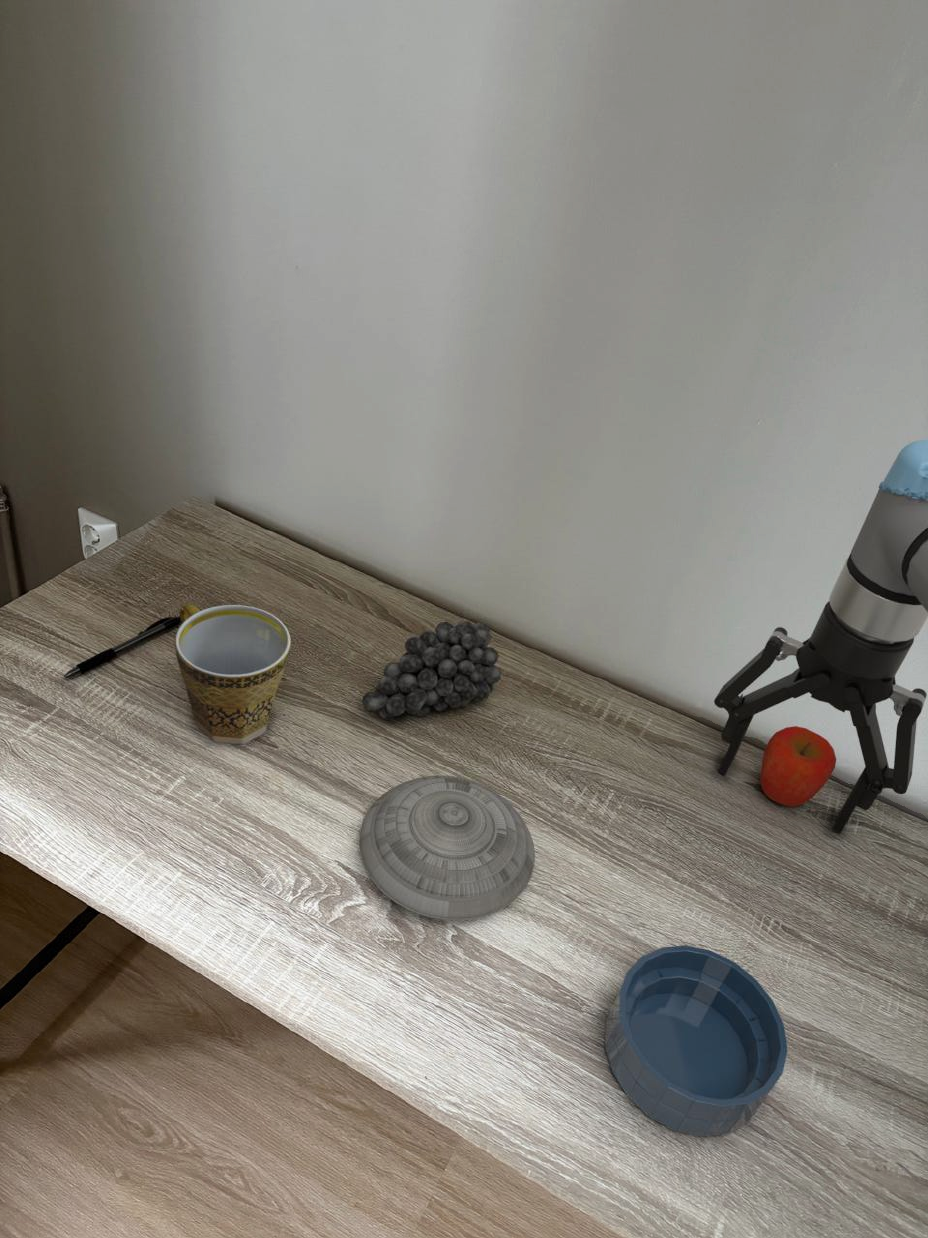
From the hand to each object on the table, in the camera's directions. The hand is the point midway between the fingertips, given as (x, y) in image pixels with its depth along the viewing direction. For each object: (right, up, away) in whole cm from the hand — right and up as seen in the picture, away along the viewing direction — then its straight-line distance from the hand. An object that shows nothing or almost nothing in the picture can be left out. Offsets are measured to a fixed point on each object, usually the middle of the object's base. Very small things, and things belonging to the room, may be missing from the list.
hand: (781, 793), depth 95 cm
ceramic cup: (-54, +8, -2) cm, 54 cm away
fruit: (-35, +9, +4) cm, 36 cm away
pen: (-65, +14, +3) cm, 66 cm away
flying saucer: (-33, -3, -11) cm, 35 cm away
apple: (0, 0, 0) cm, 0 cm away
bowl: (-15, -15, -23) cm, 31 cm away
